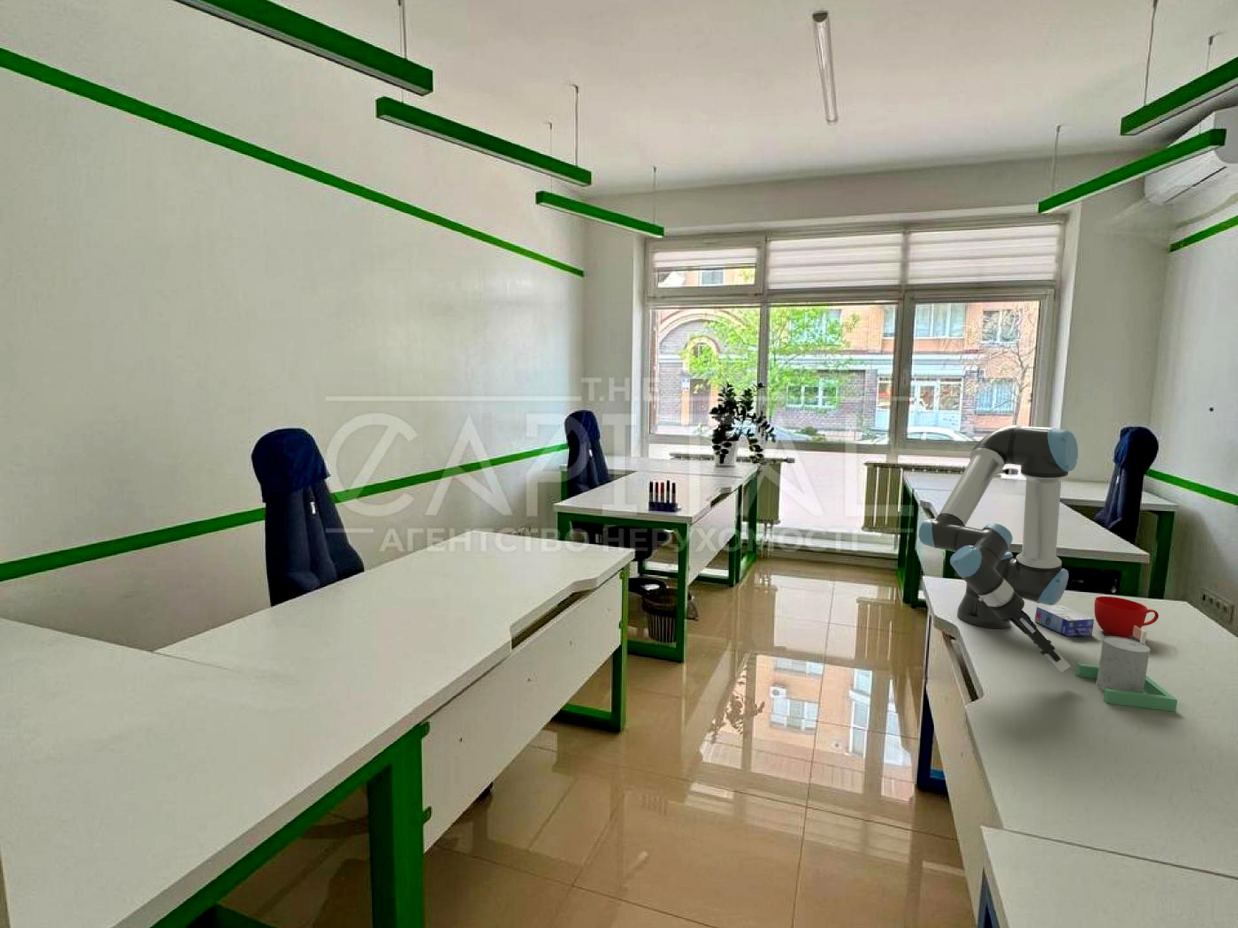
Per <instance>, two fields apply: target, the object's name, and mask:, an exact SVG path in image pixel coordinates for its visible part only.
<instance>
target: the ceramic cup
mask: <svg viewBox="0 0 1238 928" xmlns="http://www.w3.org/2000/svg"><path fill="white" fill-rule="evenodd" d="M1093 607H1094V608H1093V609H1094V611H1093V612H1094V617H1095V618H1094V619H1095V620H1096V623H1097V624H1098V626H1099V627H1100V629H1101V631H1103V633H1105V634H1106V635H1109V636H1114V637H1122V638H1127V639H1130V637H1132V636H1134V635H1133V629H1134V625H1135V626H1137V627H1138V628H1140V629H1141V630H1142V628H1143V627H1146V626H1149V625H1152V624H1154V623H1156V622H1157V620H1158V619H1159V613H1158V612H1157V611H1156V610H1154V609H1152V608H1150V609H1149V608H1148V607H1147V606H1146V605H1145V604H1143V603H1140V602H1137V601H1134V600H1130V599H1128V598H1127V599H1126V598H1121V597H1116V596H1107V595H1105V596H1097V597H1095V598H1094V606H1093ZM1149 613H1153V614H1154V616H1153V617H1152V618H1151V619H1150V620H1149V621H1146V618H1147V614H1149ZM1145 621H1146V622H1145Z"/></svg>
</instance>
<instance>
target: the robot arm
mask: <svg viewBox="0 0 1238 928" xmlns="http://www.w3.org/2000/svg"><path fill="white" fill-rule="evenodd" d="M1078 458H1079V448H1078V443H1077V438H1076V437H1075V435H1074V433H1072V431H1071V430H1067V429H1061V428H1056V427H1046V426H1045V427H1044V426H1042V427H1040V426H1026V425H1024V426H1023V425H1017V424H1016V425H1013V424H1012V425H1007V426H1002V427H1000V428H997V429H995V430H993V431H991V432H990V433H988V434H987V435H985V436H984V437H983V438H982V439H980V440H979V441H978V442H977V443H976V445H975V446H974V447H973V448H972V450H971V452H970V453H969V460H970V461H969V462H968V464H967V466H966V468H965V469H964V471H963V472H962V475H961V476H960V477H959V480H958V481H957V483H956V485H955V486H954V488H953V489H952V492H951V493H950V494H949V496H948V498H947V500H946V501H945V503H944V505H943V507H942V508H941V510H940V511H939V514H938V515H937V516H936V518H935V519H932V518H931V519H930V518H929V519H925V520H923V521H922V522H921V523H920V526H919V529H918V538H919V540H920V542H921V544H922V545H924V546H928V547H931V548H935V549H940V550H945V551H950V552H954V553H953V554H952V555H951V556H950V559H949V562H950V565H951V566H952V568H953V569H954V571H955V572H956V573H957V575H958V576H959V577H960V578H961V579H963V580H964V581H965V583H966V587H965V593H964V595H963V597H962V599H961V602H960V604H959V605H958V607H957V612H956V613H957V614H956V615H957V618H958V619H960V620H962V621H964V622H966V623H968V624H971V625H974V626H979V627H983V628H988V629H1006V628H1009V627H1010V626H1011V622H1012V624H1014V626H1016V627H1017V628H1018V629H1019V630H1020V631H1022V633H1023V634H1024V635H1027V637H1029V639H1030V640H1031V641H1032V642H1033V644H1035V645H1036V646H1037V648H1039V649H1040V650H1041V651H1040V652H1039V653H1040V654H1041V655H1042V656H1044V655H1045V656H1046V657H1047V659H1049V660H1050V662H1051V663H1052V664H1053V665H1054V666H1055V667H1056V668H1057V669H1058V671H1060V673H1062V672H1064V671H1066V670H1068V669H1069V668H1070V667H1071V664H1070V663H1069V662H1068V661H1067V660H1066V659H1065V658H1064V657H1063V656H1062V655H1061V653H1060V652H1059V651H1058V650H1057V649H1056V647H1055V646H1054V645H1052V641H1051V640H1050V639H1047V638H1046V637H1045V636H1044V634H1043V633H1042V632H1041V631H1040V630H1039V629H1038V627H1037V624H1035V623H1034V621H1032V618H1031V617H1030V615H1028V613H1026V612H1025V611H1024V610H1023V609H1024V607H1025V603H1026V602H1025V600H1026V601H1030V602H1034V603H1036V604H1043V605H1046V606H1055V605H1056V604H1058V602H1059V601H1060V600H1061V598H1062V597H1063V595H1064V593H1065V592H1066V591H1065V590H1066V588H1067V585H1068V580H1069V576H1070V575H1069V571H1068V570H1067V569H1065V568H1062V560H1061V559H1060V558H1059V557H1058V556H1057V546H1058V545H1057V544H1058V529H1059V519H1060V517H1059V516H1060V501H1061V491H1062V490H1061V489H1062V481H1063V480H1064V479H1065V478H1067V477H1068V476H1069V472H1071V471H1074V470H1075V468H1076V467H1077V464H1078V463H1077V462H1078V461H1077V460H1078ZM1006 465H1014V466H1015V465H1016V466H1020V474H1021V475H1022V476H1023V477H1024V478H1025V479H1026V481H1025V494H1024V495H1025V501H1024V511H1023V512H1024V516H1023V530H1022V531H1023V532H1022V548H1021V549H1022V551H1021V552H1020V553H1018V554H1017V555H1016V556H1015V558H1013V557H1014V555H1013V553H1012V552H1011V551H1009V548H1010V546H1011V545H1012V543H1013V535H1012V533H1011V531H1010V530H1009V528H1007V527H1006V526H1004V525H1002V524H999V523H989V524H987V525H985V526H984V527H983V528H982V529H980V528H975V527H970V526H966V525H968V522H969V520H970V518H971V516H972V515H973V513H974V512H975V510H976V508H977V506H978V505H979V502H980V501H981V499H982V497H983V496H984V495H985V492H986V491H987V489H988V487H989V485H990V484H991V482H992V480H993V479H994V477H995V475H996V474H997V473H998V472H1001V470H1003V468H1004V467H1005V466H1006Z"/></svg>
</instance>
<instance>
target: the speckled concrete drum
mask: <svg viewBox="0 0 1238 928" xmlns="http://www.w3.org/2000/svg"><path fill="white" fill-rule="evenodd" d="M1150 652H1151V648H1150V647H1149V646H1148V645H1147V644H1146V643H1145V644H1143V643H1140V641H1137V640H1134V639H1131V638H1122V637H1114V636H1111V635H1109V636H1104V637H1102V643H1101V652H1100V658H1099V662H1098V663H1099V664H1098V666H1099V670H1098V677H1097V678H1096V682H1095V685H1096V687H1097V688H1098V689H1099V688H1100V690H1101V691H1102V692H1105V689H1114V690H1122V691H1130V692H1138V693H1144V684H1145V678H1146V676H1147V671H1148V670H1147V669H1148V664H1149V657H1150Z"/></svg>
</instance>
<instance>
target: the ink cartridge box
mask: <svg viewBox="0 0 1238 928" xmlns="http://www.w3.org/2000/svg"><path fill="white" fill-rule="evenodd" d="M1034 622H1035V623H1037V624H1039V625H1041V626H1043V627H1046V628H1048V629H1051V630H1053V631H1055V632H1057V633H1058V634H1061V635H1063V636H1065V637H1071V636H1072V637H1073V636H1075V637H1076V636H1092V635H1093V628H1094V623H1095V618H1093V617H1089V616H1088V615H1085V614H1082V613H1080V612H1078V611H1075V610H1073V609H1070V608H1068V607H1067V606H1064V605H1046V606H1045V605H1043V606H1036V611H1035V615H1034Z"/></svg>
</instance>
